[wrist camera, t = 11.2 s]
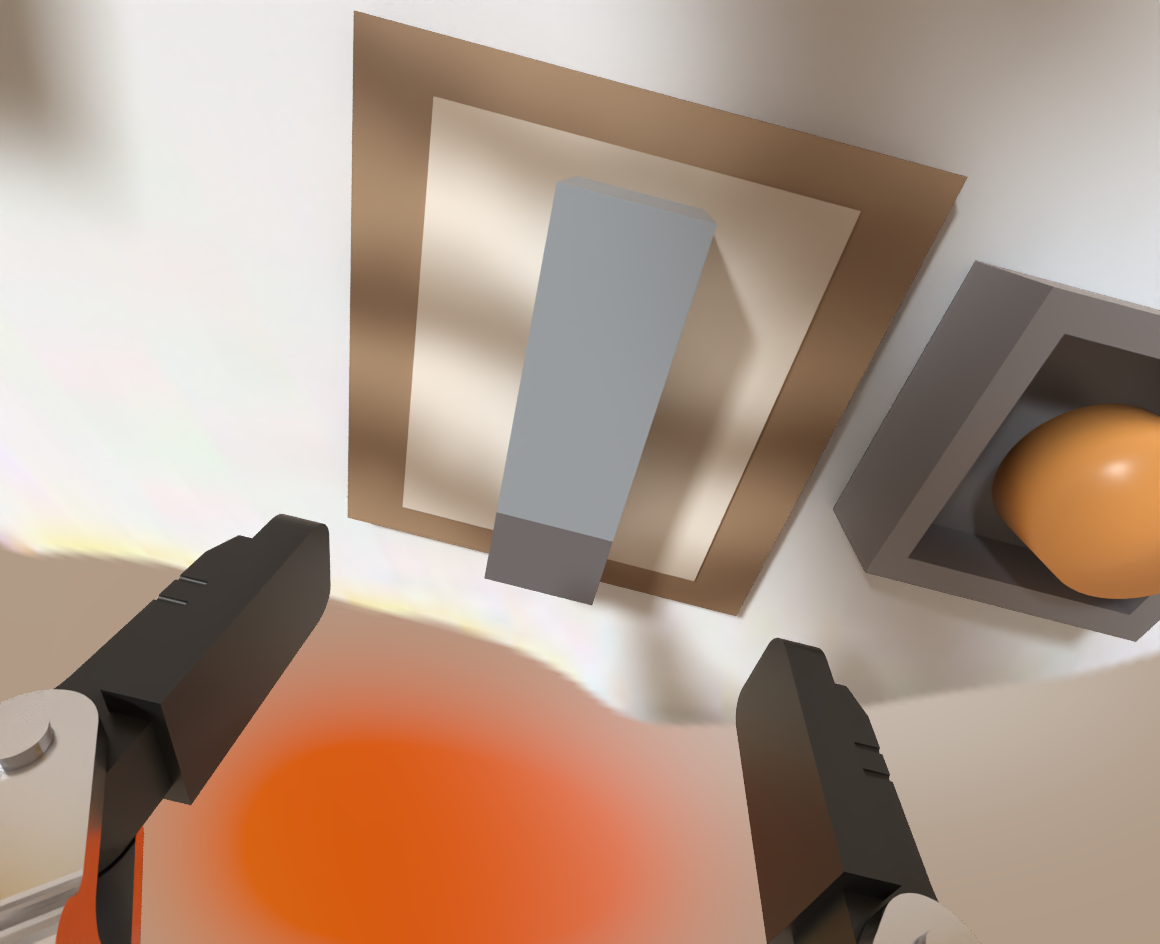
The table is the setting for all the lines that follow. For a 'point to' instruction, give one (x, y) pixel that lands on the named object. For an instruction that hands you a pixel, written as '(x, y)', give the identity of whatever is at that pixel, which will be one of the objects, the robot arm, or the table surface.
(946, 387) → the button housing
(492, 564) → the grey rectangular block
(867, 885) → the robot arm
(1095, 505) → the button cap
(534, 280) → the picture frame
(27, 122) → the table surface
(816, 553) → the table surface
